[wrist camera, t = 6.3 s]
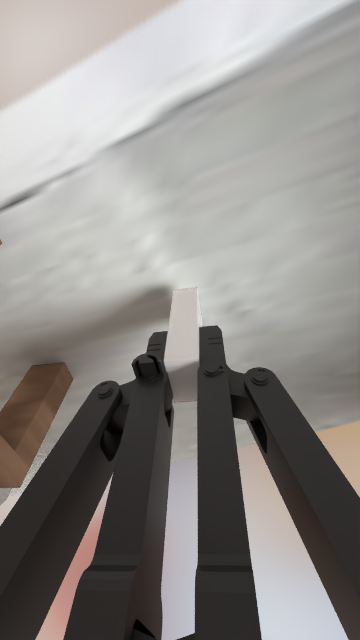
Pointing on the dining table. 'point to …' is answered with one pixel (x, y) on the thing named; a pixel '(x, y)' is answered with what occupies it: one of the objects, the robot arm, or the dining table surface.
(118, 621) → the robot arm
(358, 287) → the dining table surface
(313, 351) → the dining table surface
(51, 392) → the bridge
